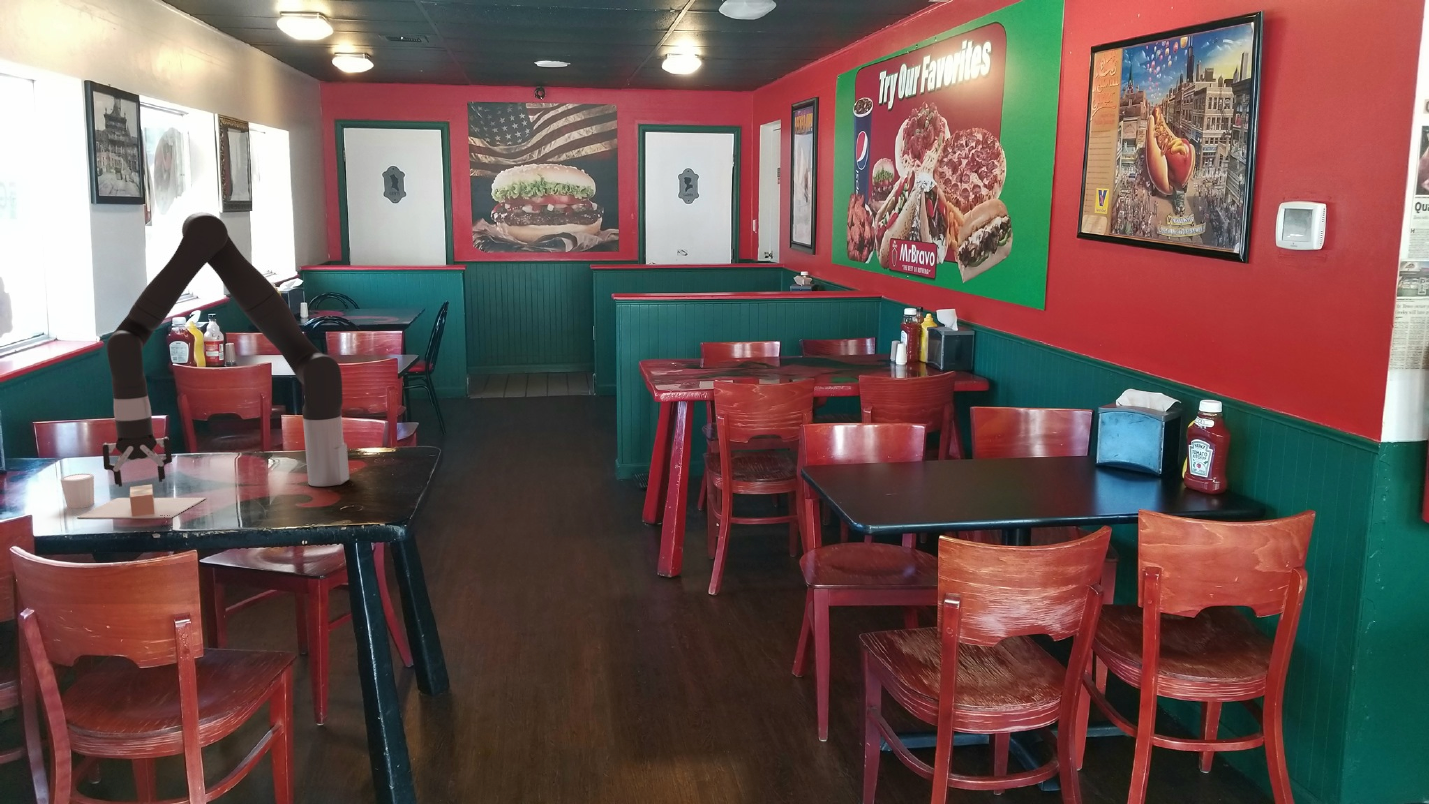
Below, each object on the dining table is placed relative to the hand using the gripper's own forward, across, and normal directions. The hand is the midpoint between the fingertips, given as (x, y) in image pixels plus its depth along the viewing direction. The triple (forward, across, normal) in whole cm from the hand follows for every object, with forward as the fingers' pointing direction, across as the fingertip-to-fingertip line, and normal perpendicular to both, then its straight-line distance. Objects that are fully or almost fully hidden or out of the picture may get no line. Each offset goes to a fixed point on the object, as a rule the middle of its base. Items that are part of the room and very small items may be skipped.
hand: (140, 483), depth 249 cm
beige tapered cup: (+6, -13, +11) cm, 18 cm away
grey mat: (+6, 0, 0) cm, 6 cm away
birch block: (+3, 0, +3) cm, 4 cm away
